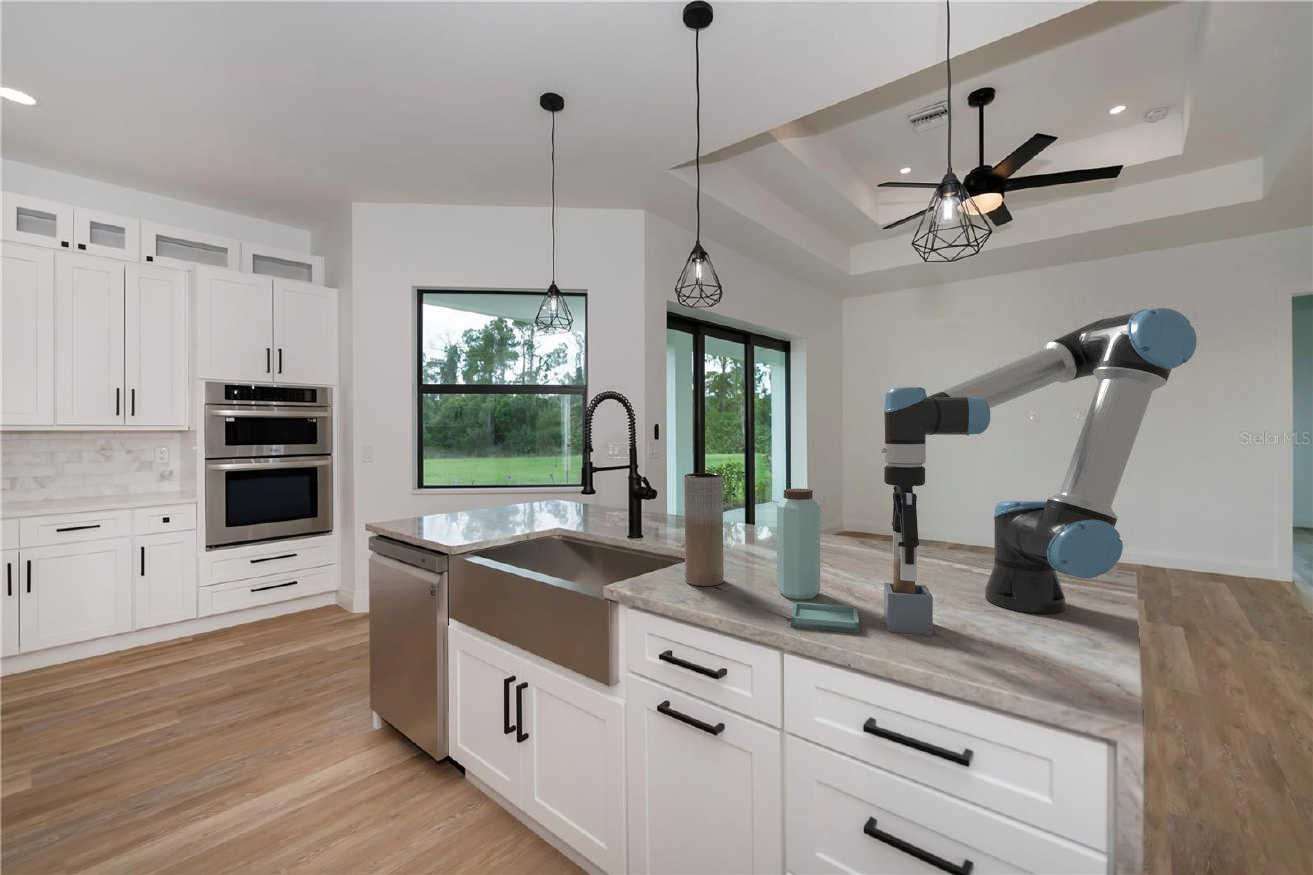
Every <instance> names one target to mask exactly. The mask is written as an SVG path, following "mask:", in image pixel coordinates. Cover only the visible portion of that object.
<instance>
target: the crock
mask: <svg viewBox="0 0 1313 875" xmlns="http://www.w3.org/2000/svg"><path fill="white" fill-rule="evenodd" d="M933 599H934V597H933V594H932V593H931V592H930V590H929V588H928V586H927V585H926V584H916V583H915V594H906V593H893V582H886V581H885V582H883V619H884V622H885V625H886V629H887V632H890V633H891V632H893V633H902V634H903V633H905V634H915V635H924V636H925V635H926V636H933V635H934V634H933V631H934V630H933V629H934V626H933V622H934V621H933V620H934V617H933V613H934V611H933V610H934V608H933V607H934V606H933V605H934V604H933V602H934V600H933Z"/></svg>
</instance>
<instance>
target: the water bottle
mask: <svg viewBox="0 0 1313 875" xmlns="http://www.w3.org/2000/svg"><path fill="white" fill-rule="evenodd" d="M813 493H814V491H813V489H809V488H798V487H797V488H796V487H795V488H786V489H784V490H783V497H782V499H781V500H780V501H779V502H778V504H777V505H776V569H777V570H776V571H777V572H776V581H777V584H776V587H777V590H778V591H779V593H780V594H781V595H783V596H784V597H785V598H789V599H795V600H800V601H801V600H811V599H814V598H815V597H816V596H817V595H818V594H819V593H820V591H821V505H820V504H818V502H816V500H815V499H814V498H813Z"/></svg>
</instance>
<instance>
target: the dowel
mask: <svg viewBox="0 0 1313 875" xmlns="http://www.w3.org/2000/svg"><path fill="white" fill-rule="evenodd" d="M892 564H893V565H892V566H893V570H892V571H893V576H892V578H893V582H892V583H893V593H906V594H915V584H916V581H904V580H901V555H894V563H893V562H892Z"/></svg>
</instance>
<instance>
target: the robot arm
mask: <svg viewBox="0 0 1313 875" xmlns="http://www.w3.org/2000/svg"><path fill="white" fill-rule="evenodd" d="M1197 338H1198V337H1197V333H1196V330H1195V327H1194V326H1192V325H1191V322H1190V320H1189V318H1187V317H1186V316H1185V315H1184V314H1182V313H1181V312H1179V311H1177V310H1174V309H1173V308H1167V307H1156V308H1148V309H1140V310H1137V311H1136V312H1132V313H1127V314H1123V315H1117V316H1113V317H1108V318H1103V319H1100V320H1099V319H1098V320H1096V321H1093V322H1091V323H1089V324H1086V325H1084V326H1082V327H1080V328H1078V329H1076V330H1073V331H1071V332H1069V333H1067V334H1065V335H1063V336H1060V337H1058V338H1056V339H1055V340H1054V339H1053V340H1051V341H1049V342H1047V343H1045V344H1044V345H1043V346H1042V349H1041V350H1040V351H1036V352H1035V353H1032V354H1029V355H1027V356H1024V357H1023V358H1020V359H1018V360H1017V359H1016V360H1015V361H1012V362H1010V363H1008V364H1005V365H1003V366H1001V367H998V368H995V369H993V370H990V371H987V372H985V373H982V374H981V375H978V376H976V377H973V378H971V379H969V380H965V381H964V382H961V383H957V384H956V385H954V386H951V387H949V388H946V389H944V390H943V389H942V390H941V391H939V392H937V393H934V394H931V395H929V396H927V393H926V389H925V388H924V387H915V386H913V387H912V386H911V387H909V386H908V387H907V386H906V387H892V388H889V389H888V390H887V391H886V393H885V397H884V405H883V406H884V408H883V409H884V410H883V413H884V447H882V448H881V449H880V450H881V453H883V454H884V462H885V463H886V464H887V465H885V466H884V470H883V472H884V475H883V476H884V477H883V478H884V479H883V480H884V483H885V484H886V485H888V486H893V492H892V501H893V504H892V506H893V508H892V520H891V521H892V522H891V527H892V531H893V532H892V535H893V536H892V564H893V563H894V555H901V580H904V581H915V582H917V581H918V580H917V578H918V575H917V574H918V573H917V562H918V561H917V560H918V558H917V557H918V556H917V555H918V554H917V552H918V548H917V547H918V546H919V545H920V541H919V528H918V514H917V513H918V511H917V499H918V496H917V494H916V493H914V491H913V490H914V489H913V487H921V486H924V485H925V483H926V467H925V466H923V465H925V464H926V462H927V461H926V457H927V456H926V453H927V452H926V449H927V444H926V442H927V441H926V436H934V435H935V436H936V435H937V436H941V435H944V436H953V435H954V436H959V435H961V436H963V435H964V436H970V435H981V434H983V433H985V432H986V431H987V430H988V428H989V426H990V423H991V409H992V408H995V407H997V406H1000V405H1002V404H1004V403H1007V402H1009V401H1012V400H1014V399H1017V398H1019V397H1022V396H1025V395H1028V394H1029V393H1031V392H1035V391H1037V390H1039V389H1042V388H1044V387H1046V386H1049V385H1052V384H1055V383H1056V382H1059V383H1063V384H1066V383H1069V382H1072V381H1074V380H1076V379H1080V378H1085V377H1090V376H1094V377H1095V378H1096V379H1097V381H1098V384H1097V386H1096V389H1095V392H1094V395H1093V398H1092V401H1091V403H1090V406H1089V408H1088V412H1087V415H1086V417H1085V420H1084V423H1083V425H1082V427H1081V431H1080V434H1079V436H1078V440H1077V442H1076V444H1075V445H1076V446H1075V448H1074V451H1073V454H1072V456H1071V460H1070V462H1069V465H1068V468H1067V471H1066V473H1065V476H1064V479H1063V482H1062V484H1061V488H1060V490H1059V492H1058V493H1056V494H1054V495H1052V496H1050V497H1048V498H1047V500H1046V501H1045V500H1044V501H1043V500H1040V501H1039V500H1020V501H1019V500H1008V501H1006V500H1005V501H999V502H998V503H996V505H995V508H994V515H993V520H994V555H993V556H994V558H993V559H994V561H993V563H994V565H993V568H992V570H991V573H990V576H989V577H988V581H987V583H986V585H985V588H984V590H985V592H984V593H985V595H984V596H985V597H984V598H985V600H987V601H988V602H990V603H991V604H993V605H994V606H995V605H996V606H999V607H1000V608H1005V609H1008V610H1011V611H1012V610H1013V611H1018V612H1024V613H1033V614H1057V613H1061V612H1064V611H1065V610H1066V597H1065V593H1064V592H1063V588H1062V584H1061V582H1060V580H1059V578H1058V575H1057V572H1058V573H1060V574H1063V575H1066V576H1071V577H1076V578H1080V579H1081V578H1082V579H1092V578H1097V577H1100V576H1102V575H1104V574H1107V573H1108V572H1110V571H1111V570H1112V569H1113V568H1114V567H1115V566H1116V565H1117V564H1118V562H1119V561H1120V559H1121V557H1122V554H1123V547H1124V544H1123V540H1121V535H1120V533H1119V531H1118V530H1117V529H1116V528H1115V527H1116V524H1117V521H1118V516H1117V515H1116V512H1114V510H1113V508H1112V505H1113V503H1114V500H1115V497H1116V495H1117V491H1118V489H1119V486H1120V483H1121V481H1122V478H1123V475H1124V473H1125V470H1126V468H1127V465H1128V461H1129V459H1130V455H1131V452H1132V450H1133V447H1134V444H1135V441H1136V439H1137V436H1138V433H1139V430H1140V429H1141V428H1140V427H1141V425H1142V421H1143V420H1144V417H1145V415H1146V414H1145V413H1146V410H1147V408H1148V405H1149V403H1150V400H1151V398H1152V394H1153V392H1154V391H1156V390H1159V388H1162V387H1164V386H1166V385H1167V383H1168V379H1169V377H1170V374H1171V372H1172V369H1176V368H1178V367H1181V366H1182V365H1183V364H1185V363H1187V362H1188V361H1190V360H1191V359H1192V357H1193V356H1194V354H1195V351H1196V349H1197V342H1198V339H1197Z"/></svg>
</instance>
